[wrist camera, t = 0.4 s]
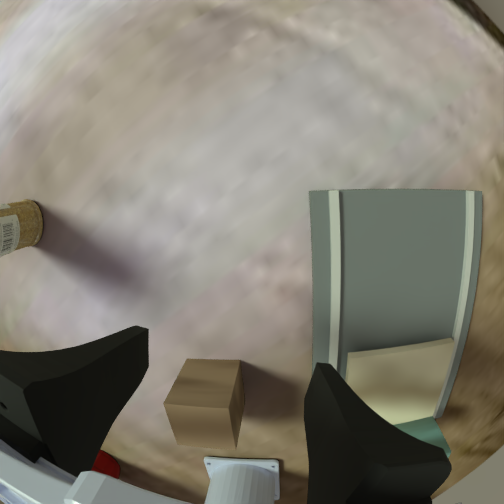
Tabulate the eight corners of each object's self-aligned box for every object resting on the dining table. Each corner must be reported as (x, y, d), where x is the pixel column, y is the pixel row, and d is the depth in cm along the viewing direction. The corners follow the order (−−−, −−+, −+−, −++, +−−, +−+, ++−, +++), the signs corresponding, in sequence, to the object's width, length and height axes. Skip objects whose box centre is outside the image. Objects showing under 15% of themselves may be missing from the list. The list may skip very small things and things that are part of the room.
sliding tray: (425, 414, 22) (447, 458, 15) (337, 429, 23) (346, 482, 16) (447, 334, 20) (485, 375, 14) (346, 348, 21) (365, 403, 14)
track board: (438, 412, 23) (442, 419, 22) (309, 433, 24) (309, 442, 23) (476, 190, 18) (484, 191, 17) (309, 190, 19) (310, 191, 18)
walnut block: (245, 400, 24) (235, 449, 18) (196, 398, 24) (177, 444, 19) (240, 359, 23) (228, 408, 17) (187, 358, 23) (163, 403, 18)
